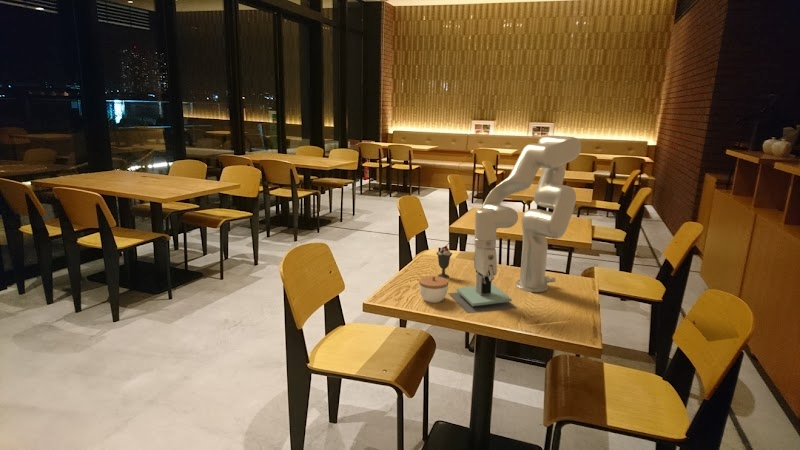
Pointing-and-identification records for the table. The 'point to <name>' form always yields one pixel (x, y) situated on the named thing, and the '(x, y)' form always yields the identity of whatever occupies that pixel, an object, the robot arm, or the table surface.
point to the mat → (480, 308)
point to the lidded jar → (433, 288)
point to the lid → (478, 298)
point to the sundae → (444, 260)
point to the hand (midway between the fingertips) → (483, 290)
